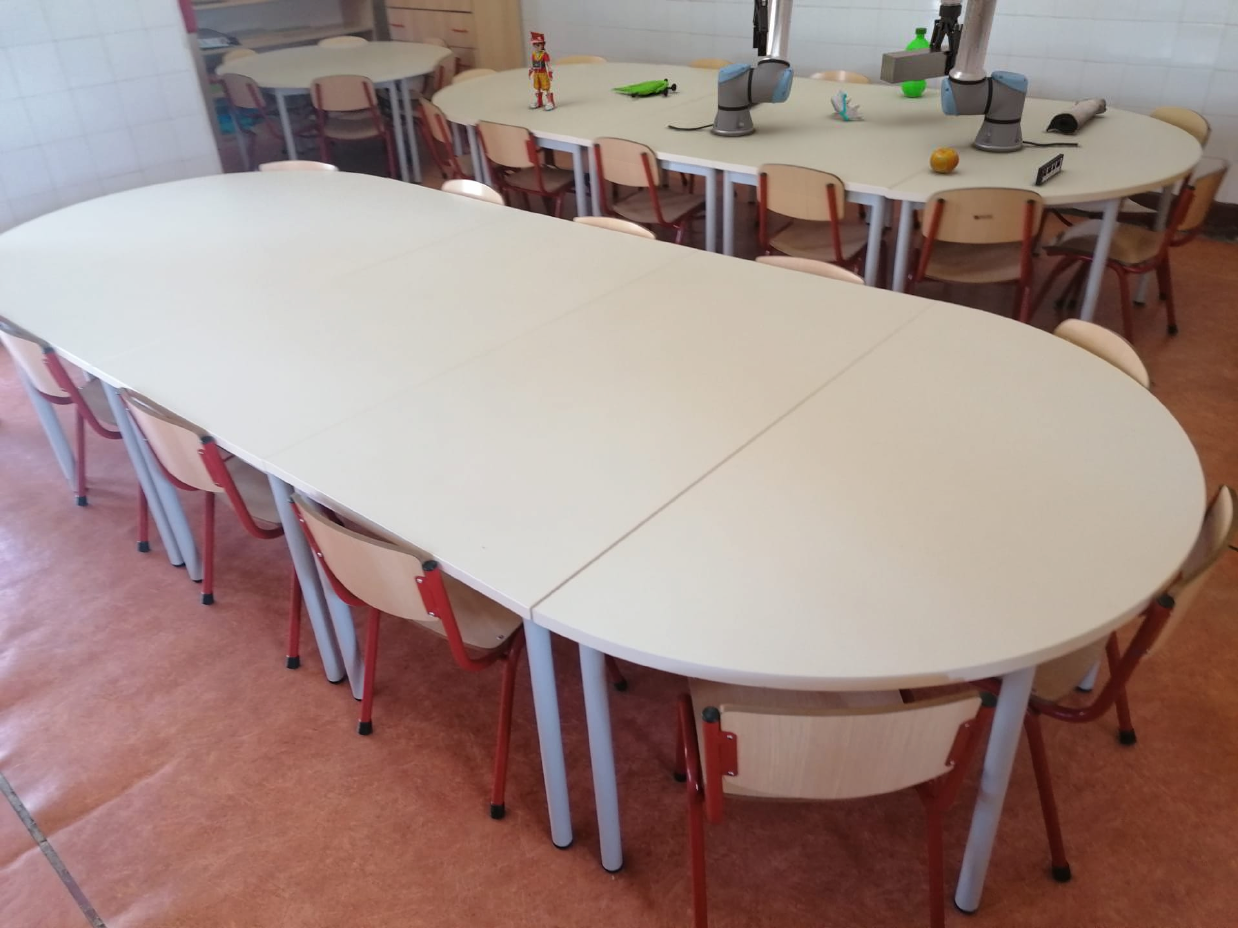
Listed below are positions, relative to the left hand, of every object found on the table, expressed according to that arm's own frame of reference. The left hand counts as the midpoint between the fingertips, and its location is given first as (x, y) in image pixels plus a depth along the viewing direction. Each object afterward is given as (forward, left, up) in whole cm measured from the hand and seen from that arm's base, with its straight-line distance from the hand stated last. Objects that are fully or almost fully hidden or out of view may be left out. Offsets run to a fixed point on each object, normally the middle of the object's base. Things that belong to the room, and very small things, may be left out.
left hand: (759, 52), depth 293 cm
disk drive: (-32, +60, -33) cm, 76 cm away
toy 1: (-112, +31, -33) cm, 120 cm away
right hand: (+44, +68, -17) cm, 82 cm away
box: (+38, +60, -18) cm, 73 cm away
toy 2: (-85, +69, -33) cm, 114 cm away
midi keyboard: (+94, +6, -33) cm, 100 cm away
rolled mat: (+93, +72, -33) cm, 122 cm away
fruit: (+64, +2, -33) cm, 71 cm away
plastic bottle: (+28, +96, -33) cm, 105 cm away
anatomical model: (+13, +56, -33) cm, 66 cm away
